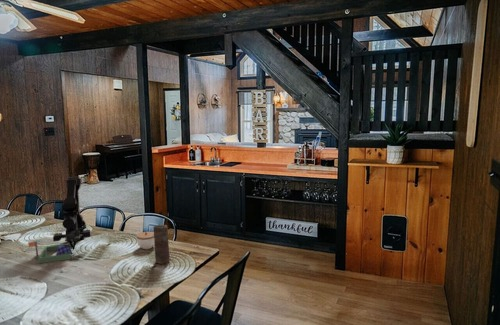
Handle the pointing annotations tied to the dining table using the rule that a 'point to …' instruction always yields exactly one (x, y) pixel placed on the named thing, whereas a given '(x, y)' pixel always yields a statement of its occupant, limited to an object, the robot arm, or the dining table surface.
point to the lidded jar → (145, 240)
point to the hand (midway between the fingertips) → (73, 249)
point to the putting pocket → (49, 248)
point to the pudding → (64, 250)
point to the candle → (161, 244)
